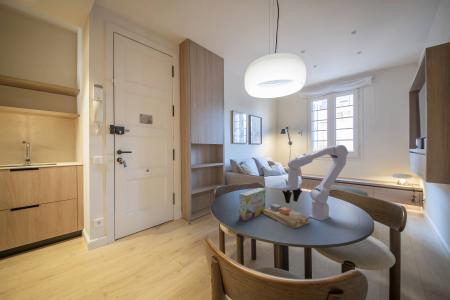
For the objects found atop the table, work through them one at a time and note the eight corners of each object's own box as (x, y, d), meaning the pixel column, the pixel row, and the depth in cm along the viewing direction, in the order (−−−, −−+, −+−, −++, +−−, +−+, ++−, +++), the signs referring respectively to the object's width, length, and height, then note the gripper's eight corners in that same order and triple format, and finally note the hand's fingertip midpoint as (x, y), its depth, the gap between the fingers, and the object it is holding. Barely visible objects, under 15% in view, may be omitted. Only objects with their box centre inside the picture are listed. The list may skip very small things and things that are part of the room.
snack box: (246, 222, 97) (246, 195, 96) (238, 219, 100) (238, 193, 100) (265, 211, 112) (265, 188, 112) (258, 209, 116) (258, 187, 116)
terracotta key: (284, 213, 105) (284, 207, 104) (290, 216, 101) (290, 209, 101) (279, 215, 102) (279, 208, 102) (285, 217, 99) (285, 210, 98)
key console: (277, 210, 114) (277, 206, 114) (308, 223, 95) (308, 217, 95) (264, 214, 108) (263, 209, 108) (294, 228, 89) (294, 222, 89)
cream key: (294, 217, 99) (294, 210, 98) (301, 220, 95) (301, 213, 95) (289, 219, 96) (289, 212, 96) (296, 222, 92) (296, 214, 92)
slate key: (275, 210, 111) (275, 203, 111) (281, 212, 107) (281, 205, 107) (270, 211, 108) (270, 205, 108) (276, 213, 105) (276, 207, 105)
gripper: (294, 177, 111) (293, 198, 111) (279, 178, 103) (277, 201, 103) (304, 179, 105) (303, 202, 106) (289, 181, 97) (288, 205, 97)
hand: (291, 202), depth 104 cm, fingers open, 7 cm apart
